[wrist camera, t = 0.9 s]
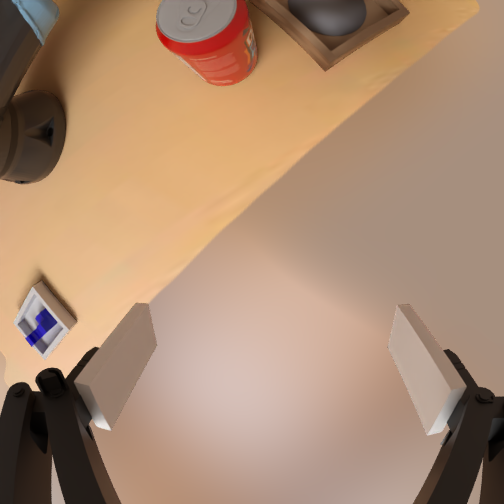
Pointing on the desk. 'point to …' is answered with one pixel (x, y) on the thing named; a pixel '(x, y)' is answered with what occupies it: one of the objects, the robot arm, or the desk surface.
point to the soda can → (209, 37)
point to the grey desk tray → (27, 323)
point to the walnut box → (333, 24)
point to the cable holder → (41, 326)
